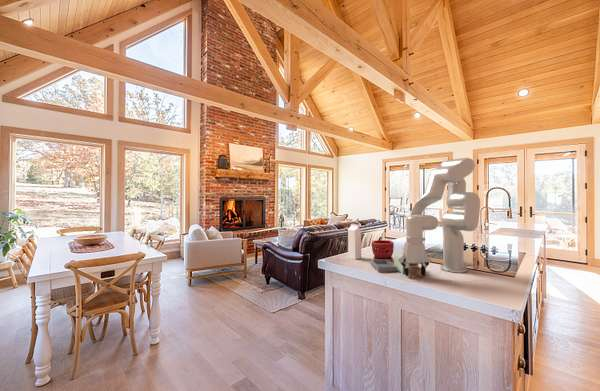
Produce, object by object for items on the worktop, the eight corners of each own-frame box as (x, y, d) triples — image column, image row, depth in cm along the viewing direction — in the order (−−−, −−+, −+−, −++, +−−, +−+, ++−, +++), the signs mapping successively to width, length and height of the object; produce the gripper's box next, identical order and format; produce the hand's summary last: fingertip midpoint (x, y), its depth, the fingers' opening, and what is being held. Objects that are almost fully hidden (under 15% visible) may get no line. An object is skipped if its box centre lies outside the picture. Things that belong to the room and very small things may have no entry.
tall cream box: (408, 267, 148) (408, 253, 148) (418, 273, 136) (418, 258, 136) (394, 267, 148) (393, 253, 148) (402, 273, 136) (402, 259, 136)
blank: (412, 272, 139) (412, 262, 139) (421, 278, 129) (421, 268, 129) (403, 272, 139) (402, 263, 139) (411, 278, 129) (411, 268, 129)
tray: (387, 264, 154) (387, 259, 154) (396, 271, 139) (396, 266, 139) (370, 264, 154) (370, 259, 154) (378, 272, 139) (378, 267, 139)
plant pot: (395, 259, 165) (395, 240, 165) (391, 264, 154) (390, 244, 154) (375, 256, 172) (375, 238, 172) (369, 261, 161) (368, 242, 160)
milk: (355, 259, 165) (354, 225, 165) (348, 257, 170) (347, 224, 170) (361, 258, 169) (361, 224, 169) (354, 256, 174) (353, 223, 173)
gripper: (428, 238, 134) (428, 272, 135) (394, 239, 134) (394, 273, 134) (435, 241, 127) (435, 277, 127) (400, 242, 127) (400, 278, 127)
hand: (414, 275), depth 131 cm, fingers open, 7 cm apart
